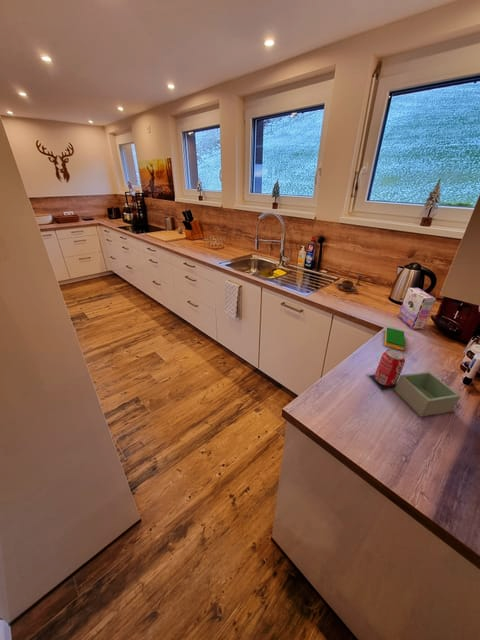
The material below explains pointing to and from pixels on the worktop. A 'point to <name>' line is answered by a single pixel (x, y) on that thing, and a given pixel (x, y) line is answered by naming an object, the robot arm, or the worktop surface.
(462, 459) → the worktop surface
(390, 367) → the soda can
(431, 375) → the bin
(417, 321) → the candy box
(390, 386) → the coaster
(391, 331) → the dish sponge
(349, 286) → the place setting
